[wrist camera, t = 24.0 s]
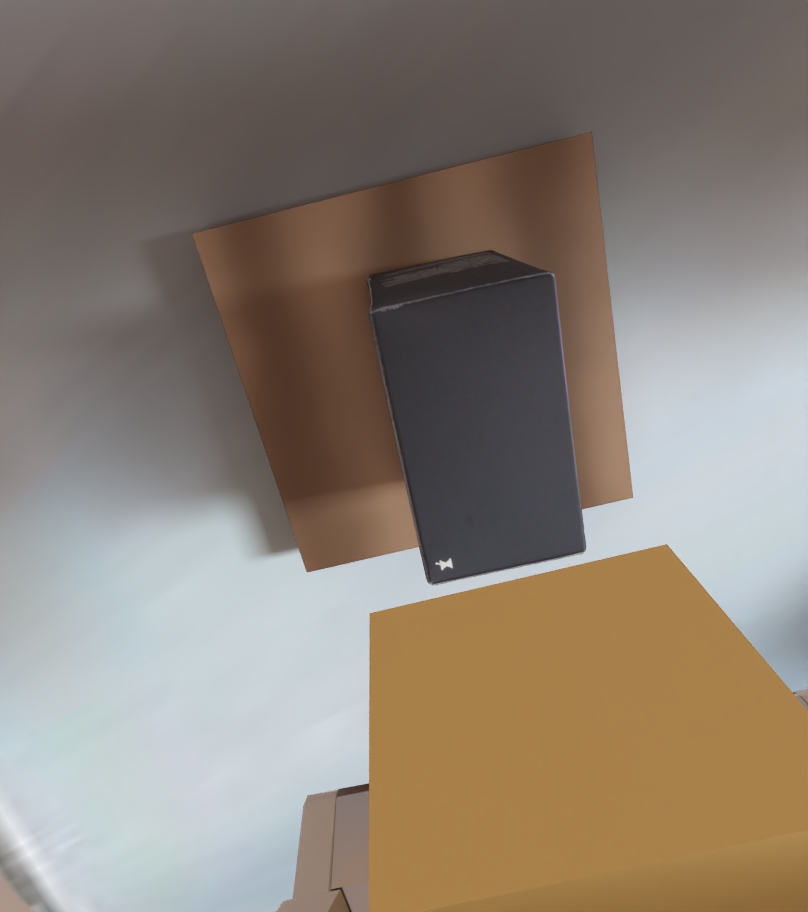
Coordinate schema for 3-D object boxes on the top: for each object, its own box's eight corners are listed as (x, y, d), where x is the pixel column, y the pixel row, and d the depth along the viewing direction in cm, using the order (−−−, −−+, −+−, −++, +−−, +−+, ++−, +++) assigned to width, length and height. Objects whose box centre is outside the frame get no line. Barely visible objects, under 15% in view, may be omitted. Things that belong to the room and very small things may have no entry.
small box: (531, 454, 34) (596, 560, 24) (408, 480, 34) (422, 594, 24) (502, 244, 30) (565, 268, 20) (362, 274, 30) (358, 312, 20)
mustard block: (666, 544, 11) (893, 812, 6) (689, 766, 13) (877, 1102, 8) (369, 613, 11) (369, 922, 6) (435, 821, 13) (471, 1180, 8)
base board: (571, 137, 31) (591, 131, 28) (613, 475, 38) (633, 497, 35) (207, 230, 32) (191, 233, 29) (311, 545, 39) (306, 572, 36)
